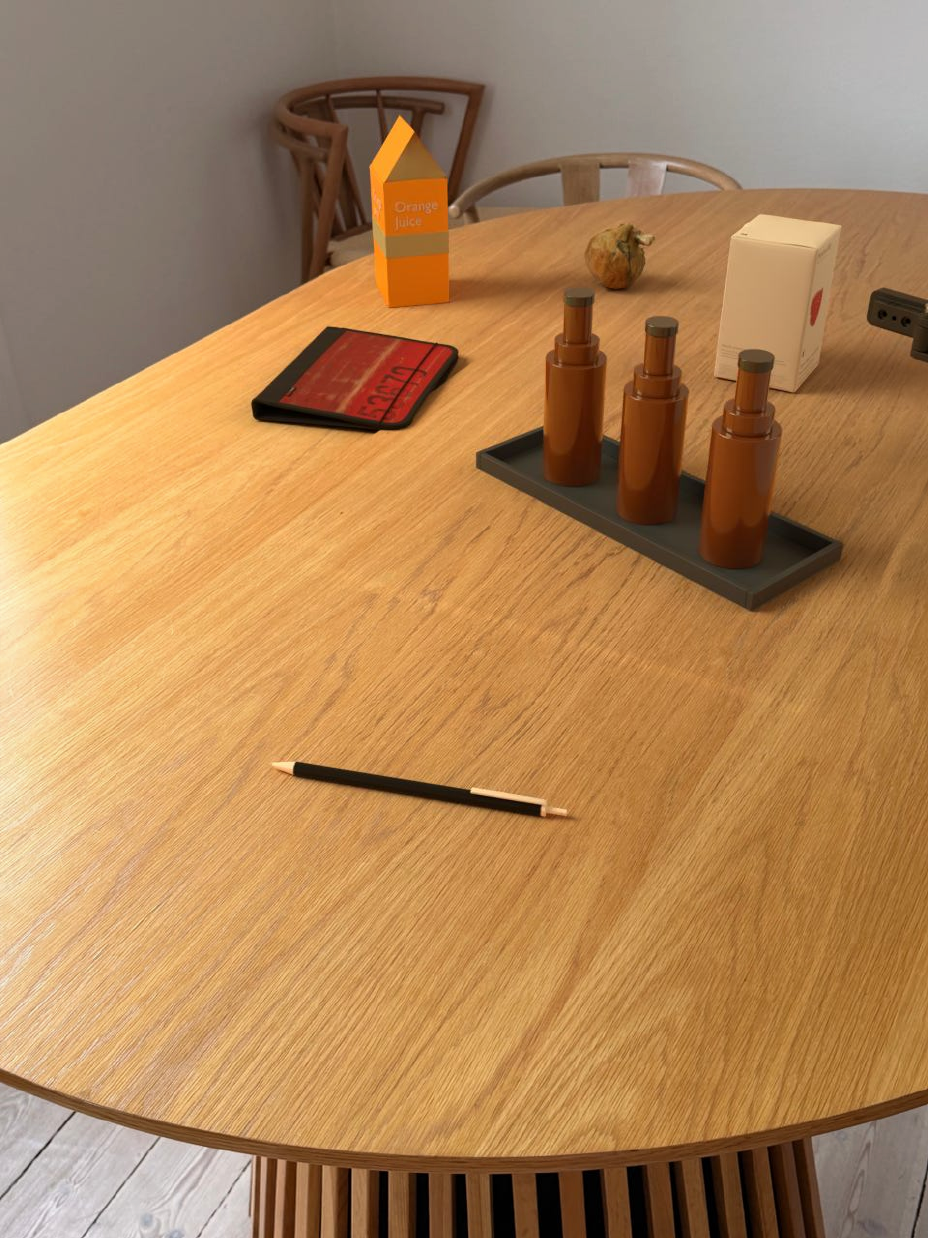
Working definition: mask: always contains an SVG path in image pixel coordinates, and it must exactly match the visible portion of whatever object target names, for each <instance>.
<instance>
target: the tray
mask: <svg viewBox="0 0 928 1238" xmlns="http://www.w3.org/2000/svg"><path fill="white" fill-rule="evenodd" d="M543 427H544V425H541V426H539V427H536V428H534V429H532V430H529V431H526V432H524V433H521V434H518V435H516V436H513V437H511V438H508V439H506V440H504V441H501V442H499V443H496V444H494V445H491V446H489V447H486V448H483V449H481V450H477V451H476V452H475V468H476V469H478V470H480V471H481V472H483V473H485V474H487V475H488V476H491V477H493V478H495V479H496V480H499V481H500V482H502V483H505V484H506V485H508V486H510V487H512V488H514V489H516V490H518V491H519V492H521V493H524V494H526V495H527V496H529V497H531V498H533V499H534V500H537V501H539V502H541V503H543V504H544V505H546V506H548V507H550V508H551V509H554V510H556V511H557V512H560V513H561V514H564V515H565V516H568V517H569V518H571V519H573V520H575V521H577V522H579V523H581V524H583V525H584V526H586V527H588V528H590V529H592V530H594V531H596V532H598V533H600V534H602V535H604V536H606V537H607V538H609V539H611V540H613V541H615V542H616V543H619V544H620V545H623V546H624V547H626V548H628V549H630V550H632V551H633V552H636V553H638V554H639V555H642V556H644V557H645V558H647V559H649V560H650V561H651V560H652V561H653V562H655V563H656V564H658V565H661V566H663V567H665V568H666V569H669V570H671V571H672V572H674V573H676V574H678V575H680V576H681V577H684V578H685V579H687V580H689V581H691V582H693V583H695V584H697V585H699V586H700V587H702V588H704V589H705V590H709V591H711V592H712V593H714V594H716V595H717V596H720V597H721V598H724V599H726V600H727V601H729V602H731V603H733V604H735V605H737V606H739V607H741V608H742V609H745V610H746V611H748V612H753V611H755V610H758V609H760V607H762V606H764V605H766V604H767V603H769V602H771V601H773V600H774V599H776V598H778V597H779V596H782V594H784V593H786V592H788V591H790V590H791V589H793V588H795V587H797V586H798V585H800V584H802V583H803V582H804V581H807V580H808V579H810V578H812V577H814V576H815V575H817V574H819V573H820V572H822V571H824V570H826V569H827V568H830V567H831V566H832V565H834V564H836V563H838V562H839V561H841V559H842V553H843V549H844V542H842V541H840V540H837V539H835V538H834V537H831V536H829V535H826V534H824V533H822V532H821V531H818V530H816V529H813V528H811V527H809V526H807V525H804V524H802V523H800V522H798V521H795V520H793V519H792V518H789V517H787V516H784V515H782V514H780V513H777V512H776V511H773V510H771V511H770V517H769V524H768V531H767V537H766V544H765V551H764V557H763V559H762V560H761V562H759V563H758V564H756V565H754V566H752V567H749V568H743V569H728V568H723V567H719V566H715V565H713V564H710V563H709V562H707V561H705V560H704V559H703V558H702V557H701V556H700V555H699V552H698V542H699V533H700V525H701V516H702V507H703V498H704V490H705V481H706V479H704V478H701V477H698V476H695V475H694V474H692V473H690V472H687V471H685V470H683V469H681V479H680V488H679V498H678V508H677V514H676V516H675V517H674V518H673V519H672V520H670V521H668V522H666V523H663V524H657V525H641V524H636V523H632V522H629V521H627V520H625V519H623V518H621V517H620V516H619V515H618V514H617V512H616V509H615V506H616V492H617V477H618V462H619V448H620V440H617V439H615V438H613V437H610V436H608V435H606V434H603V439H602V456H601V473H600V477H599V478H598V480H596V481H595V482H593V483H591V484H589V485H585V486H579V487H567V486H560V485H556V484H554V483H551V482H549V481H548V480H546V479H545V478H544V476H543V474H542V461H543Z"/></svg>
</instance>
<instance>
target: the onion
mask: <svg viewBox="0 0 928 1238" xmlns="http://www.w3.org/2000/svg"><path fill="white" fill-rule="evenodd" d="M618 225H619V226H618V227H616V228H610V229H606V230H604V231H602V232H598V233H597V234H595V235H593V236H592V237H591V238H590V239H589V241H588V243H587V246H586V248H585V250H584V254H583V255H584V256H583V257H584V262H585V265H586V267H587V269H588V270H589V272H590V273H591V275H592V276H593V277H594V279H596V281H598V282H599V284H600V285H601V286H604V287H605V288H608V289H614V290H619V289H625V288H628V287H631V286H632V285H633V284H634V283H635V282H636V281H637V280H638V279H639V278H640V277H641V275H642V273H643V272H644V267H645V265H646V256H645V251H644V248H645V247H644V246H646V247H650V246H651V245H652V244H653V243H654V242H655V241H656V238H655V236H654V235H653V234H648V233H647V234H645V233H644V232H643V230H642V229H640V228H639V227H637V226H636V225H634V223H632V224H631V223H628V222H627V223H626V222H622V223H619V224H618ZM639 245H641V246H643V247H640V246H639Z"/></svg>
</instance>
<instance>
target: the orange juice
mask: <svg viewBox="0 0 928 1238" xmlns="http://www.w3.org/2000/svg"><path fill="white" fill-rule="evenodd" d="M368 168H369V175H370V193H371V194H370V196H371V212H372V213H371V219H372V238H373V250H374V251H373V253H374V271H375V273H374V274H375V285H376V287H377V290H378V291H379V293H380V294H381V297H382V299H383V300H384V302H385V304H386V305H387V308H389V309H391V308H401V307H402V308H403V307H411V306H412V307H413V306H414V307H415V306H424V305H432V304H434V305H435V304H444V303H450V257H449V256H450V254H449V253H450V237H449V235H450V231H449V203H448V199H449V198H448V180H449V179H448V177H447V175H446V173H444V171H443V169H442V168H441V167H440V166H439V164H438V163H437V161H436V160H435V159H434V157H433V156H432V154H431V153H430V151H429V150H428V149H427V147H426V146H425V144H424V143H423V141H422V140H421V139H420V137H419V136H418V135H417V133H416V132H415V131H414V129H413V128H412V127H411V126H410V124H408V123H407V122H406V120H405V119H404V118H403V117H402V115H398V118H397V119H396V120H395V123H394V124H393V126H392V128H391V130H390V131H389V133H388V134H387V136H386V138H385V140H384V141H383V143H382V145H381V146H380V148H379V150H378V152H377V153H376V155H375V157H374V158H373V160H372V162H371V164H369V167H368Z"/></svg>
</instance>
